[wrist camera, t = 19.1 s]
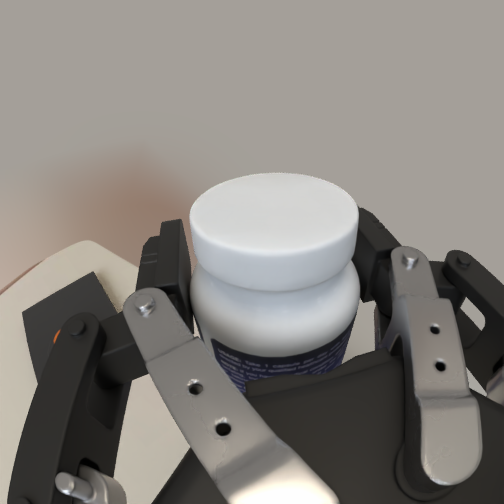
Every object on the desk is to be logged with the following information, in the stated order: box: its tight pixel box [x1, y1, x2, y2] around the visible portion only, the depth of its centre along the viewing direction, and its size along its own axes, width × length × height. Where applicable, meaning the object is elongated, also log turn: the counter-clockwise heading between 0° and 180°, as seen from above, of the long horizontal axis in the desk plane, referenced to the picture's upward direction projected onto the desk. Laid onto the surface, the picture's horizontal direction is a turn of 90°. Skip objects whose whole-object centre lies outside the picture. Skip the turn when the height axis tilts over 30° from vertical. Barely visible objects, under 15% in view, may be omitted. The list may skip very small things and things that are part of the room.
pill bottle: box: [190, 173, 360, 393], centre depth 11 cm, size 6×6×10 cm
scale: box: [22, 272, 118, 383], centre depth 28 cm, size 12×15×3 cm
